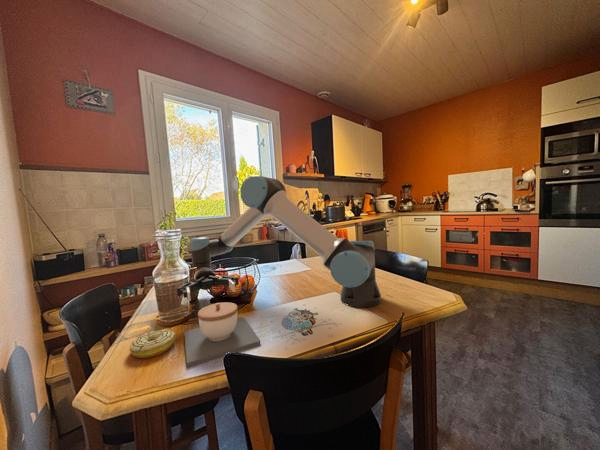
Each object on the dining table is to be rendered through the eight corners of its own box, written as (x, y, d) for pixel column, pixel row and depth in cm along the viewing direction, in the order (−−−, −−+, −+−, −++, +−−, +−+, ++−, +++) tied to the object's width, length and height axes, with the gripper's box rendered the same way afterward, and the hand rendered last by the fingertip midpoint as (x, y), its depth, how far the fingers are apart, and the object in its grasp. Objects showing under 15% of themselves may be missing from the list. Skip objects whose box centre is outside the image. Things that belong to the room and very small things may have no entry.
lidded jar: (228, 347, 63) (225, 311, 62) (191, 344, 65) (188, 310, 64) (245, 327, 73) (243, 297, 73) (213, 325, 75) (211, 296, 75)
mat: (243, 319, 81) (243, 316, 81) (260, 344, 65) (260, 340, 65) (184, 334, 73) (184, 331, 73) (187, 367, 57) (186, 363, 57)
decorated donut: (168, 335, 73) (168, 323, 73) (180, 348, 66) (179, 335, 66) (127, 350, 66) (126, 336, 66) (135, 366, 59) (134, 351, 58)
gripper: (237, 281, 102) (251, 295, 83) (170, 294, 91) (169, 313, 72) (235, 264, 102) (249, 273, 83) (168, 274, 90) (166, 288, 71)
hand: (212, 292), depth 77 cm, fingers open, 13 cm apart
